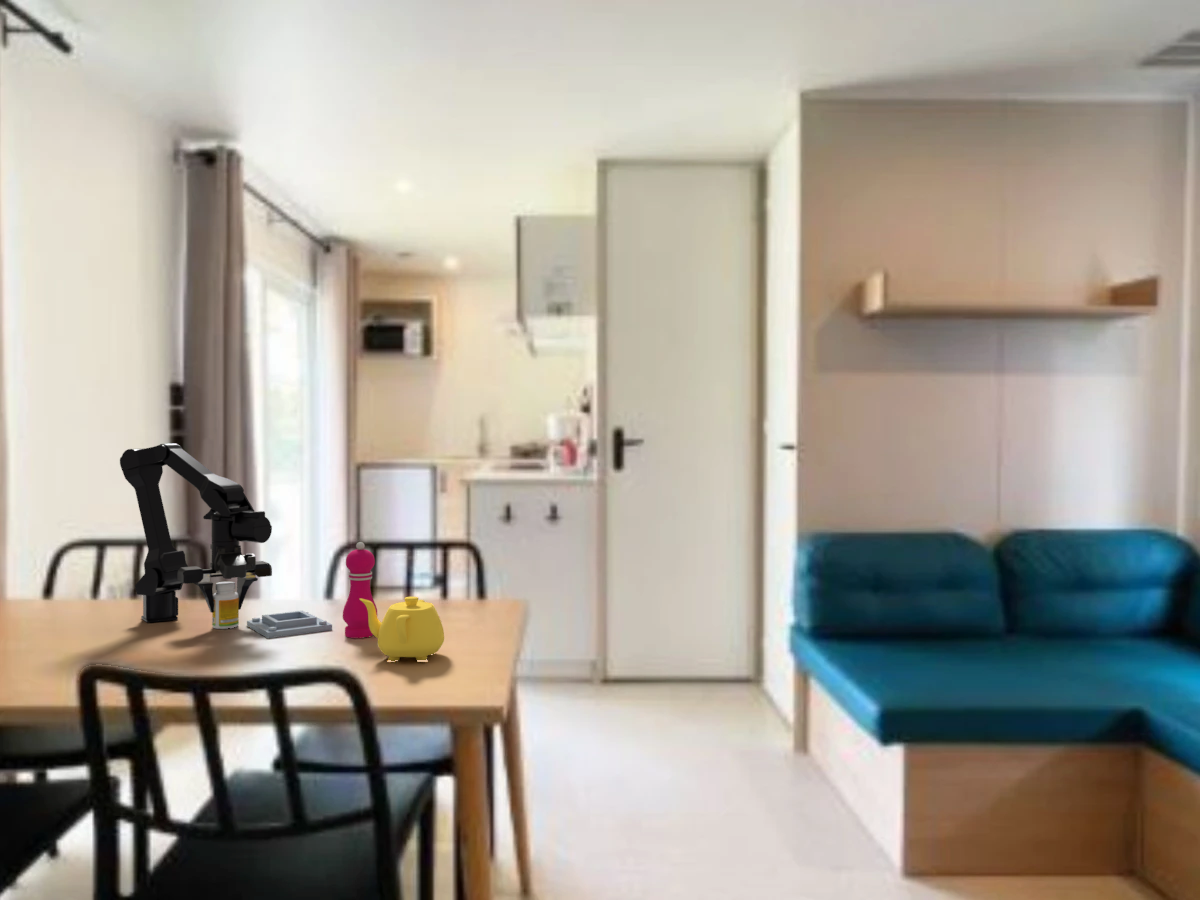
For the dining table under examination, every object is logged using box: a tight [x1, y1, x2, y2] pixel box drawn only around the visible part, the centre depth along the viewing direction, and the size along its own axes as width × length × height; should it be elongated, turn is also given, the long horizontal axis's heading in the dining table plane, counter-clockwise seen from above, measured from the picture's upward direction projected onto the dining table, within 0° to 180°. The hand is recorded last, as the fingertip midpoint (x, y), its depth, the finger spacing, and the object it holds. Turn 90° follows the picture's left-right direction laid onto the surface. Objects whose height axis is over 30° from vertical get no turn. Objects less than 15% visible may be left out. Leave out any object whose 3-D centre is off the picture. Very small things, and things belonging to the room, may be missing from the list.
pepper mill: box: [342, 541, 378, 639], centre depth 202 cm, size 7×7×20 cm
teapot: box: [360, 596, 445, 661], centre depth 184 cm, size 14×14×12 cm
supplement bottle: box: [211, 581, 240, 630], centre depth 209 cm, size 5×5×10 cm
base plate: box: [246, 610, 333, 639], centre depth 208 cm, size 14×14×3 cm
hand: (225, 610), depth 209 cm, fingers closed on supplement bottle, 5 cm apart
